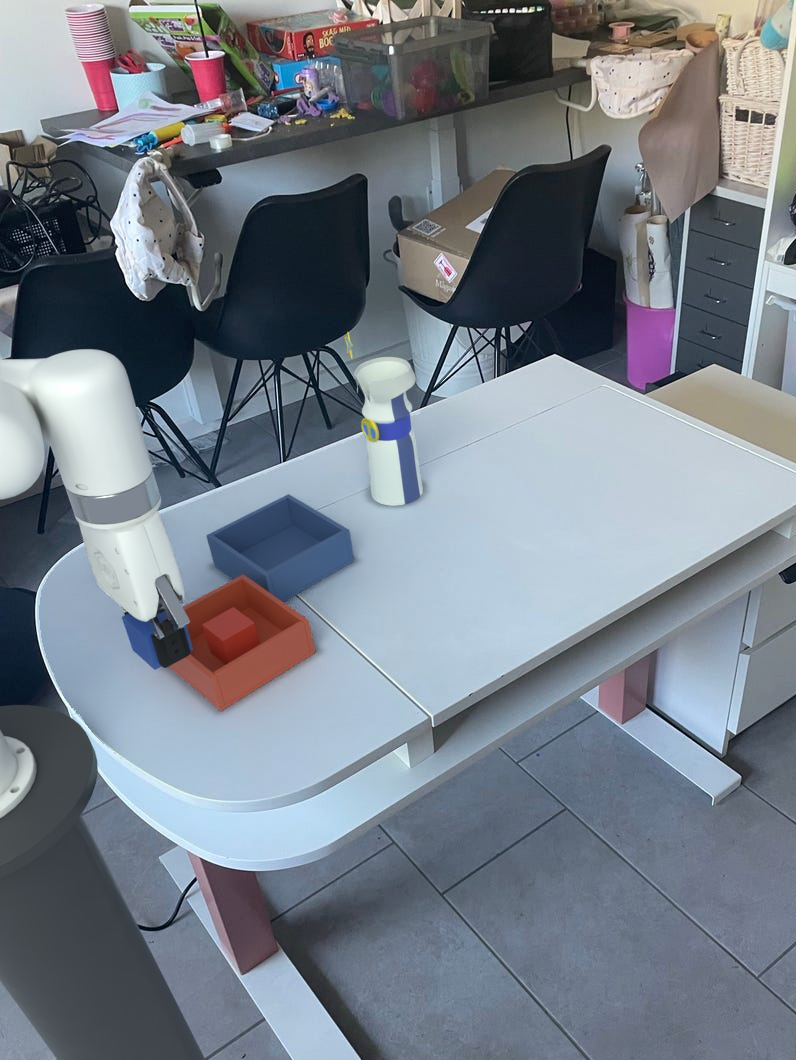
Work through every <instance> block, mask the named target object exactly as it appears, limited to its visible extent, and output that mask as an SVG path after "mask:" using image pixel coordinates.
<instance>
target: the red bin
mask: <svg viewBox="0 0 796 1060" xmlns="http://www.w3.org/2000/svg"><path fill="white" fill-rule="evenodd" d="M182 607H183V609H184V611H185V613H186V614H187V616H188V618H189V620H190V623H188V624H186V625H187V629H188V632H189V636H190V640H191V643H192V647H193V650H192V651H191V653H190V655H189V656H187V657H185V658H183V659H182V660H180V661H178V662H176V663H174V664H172V665H171V666H169V668H170V669H171V670H172V671H173V672H174V673H176V674H177V675H178V676H179V677H181V679H182V680H183V681H185V682H186V683H187V684H188V685H190V686H191V687H192V688H193V689H194V690H195V691H197V692H198V693H199V694H200V695H201V696H202V697H203V698H205V699H206V700H207V701H208V702H210V704H211V705H213V706H214V707H215V708H216V709H217V710H219V712H223V711H225V710H226V709H228V708H229V707H231V706H232V705H234V704H236V703H238V702H239V701H241V700H243V699H244V698H245V697H247V696H248V695H250V694H252V693H254V692H255V691H256V690H258V689H260V688H261V687H263V686H264V685H266V684H268V683H270V682H271V681H273V680H274V679H276V678H277V677H279V676H281V675H282V674H284V673H286V672H287V671H288V670H289V671H290V669H292V668H294V667H295V666H297V665H299V664H300V663H302V662H303V661H306V660H307V659H308V658H310V657H311V656H313V655H315V654H316V653H317V652H316V648H315V643H314V638H313V634H312V629H311V624H310V620H309V619H308V618H307V617H305V616H304V615H302V614H301V613H300V612H298V611H296V610H295V609H294V608H292V607H291V606H290V605H288V604H287V603H285V601H284V602H282V601H281V600H279V599H278V598H277V597H275V596H274V595H272V594H271V593H269V592H268V591H266V590H265V589H264V588H262V587H261V586H259V585H258V584H256V583H255V582H254V581H252V580H251V579H249V578H248V577H246V576H245V575H241V576H239V577H237V578H235V579H234V580H233V579H232V580H230V581H228V582H225V583H224V584H223V585H220V586H218V587H217V588H215V589H213V590H211V591H210V592H208V593H206V594H204V595H202V596H200V597H199V598H196V599H195V600H192V601H191V602H189V603H187V604H186V605H182ZM233 607H234V608H235V609H237V610H238V611H240V612H241V613H242V614H244V615H245V616H246V617H248V618H249V619H250V620H252V621H253V622H254V623H255V626H256V630H257V634H258V638H259V642H260V645H258V646H257V647H255V648H253V649H252V650H250V651H248V652H247V653H245V654H243V655H242V656H240V657H238V658H237V659H235V660H233V661H231V662H230V663H228V664H226V665H225V664H224V663H223V662H222V661H220V660H219V659H218V658H217V657H216V656H214V655H213V654H212V653H211V652H210V649H209V646H208V642H207V639H206V636H205V633H204V629H203V626H202V624H204V623H206V622H207V621H209V620H211V619H213V618H215V617H216V616H218V615H220V614H222V613H224V612H225V611H227V610H229V609H231V608H233Z"/></svg>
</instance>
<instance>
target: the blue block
mask: <svg viewBox="0 0 796 1060" xmlns="http://www.w3.org/2000/svg"><path fill="white" fill-rule="evenodd" d="M159 602H160V600H159V601H158V603H159ZM157 618H158V620H159V623H160V624H161V622H162V621H164V620H166V619H167V618H168V615H167V613H166V611H164V612H162V613H160V614H158V615H157ZM121 620H122V622H123V625H124V628H125V631H126V634H127V635H126V636H127V637H128V640H129V643H130V647H131V650H132V651H133V652H134V653H135V654H136V655H137V656H139V658H141V659H142V660H143V661H144V662H145V663H146V664H147V665H148V666H150V668H152V670H154V671H156V670H159V669H160V668H163V667H162V666H161V665H160V664H159V661H158V657H157V654H156V651H155V648H154V645H153V642H152V638H151V636H152V635H154V632H153V630H152V628H151V625H150V623H149V621H147V622H145V621H141V620H138V619H136V618H135V617H134V616H132V615H131V614H130V613H128V614H126V615H124V614H123V615H122V616H121ZM184 630H185V634H186V637H187V641H188V644H189V648H190V651H192V650H193V647H192V643H191V640H190V636H189V632H188V629H187V625H185V627H184Z"/></svg>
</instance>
